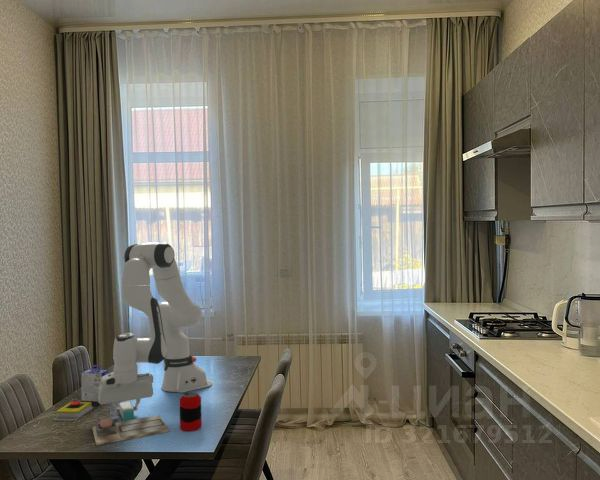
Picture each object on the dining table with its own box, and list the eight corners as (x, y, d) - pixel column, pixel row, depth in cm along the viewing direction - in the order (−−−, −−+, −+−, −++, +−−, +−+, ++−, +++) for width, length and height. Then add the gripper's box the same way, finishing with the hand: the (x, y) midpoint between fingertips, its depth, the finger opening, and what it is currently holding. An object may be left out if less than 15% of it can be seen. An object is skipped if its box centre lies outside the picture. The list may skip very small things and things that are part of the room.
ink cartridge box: (109, 398, 220) (109, 364, 219) (102, 402, 214) (101, 368, 214) (89, 396, 222) (88, 363, 221) (81, 401, 216) (80, 367, 216)
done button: (111, 426, 182) (111, 417, 182) (112, 429, 179) (112, 421, 179) (99, 428, 180) (99, 419, 180) (100, 432, 177) (100, 423, 177)
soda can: (190, 422, 190) (189, 390, 190) (205, 426, 186) (205, 393, 186) (175, 429, 184) (175, 396, 183) (191, 433, 180) (190, 399, 179)
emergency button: (94, 397, 208) (75, 410, 193) (94, 408, 208) (75, 422, 193) (72, 397, 209) (51, 410, 194) (72, 408, 209) (52, 421, 194)
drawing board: (159, 417, 196) (159, 408, 196) (168, 431, 181) (168, 422, 181) (92, 429, 185) (92, 420, 185) (96, 445, 171) (96, 435, 170)
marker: (129, 410, 204) (128, 401, 204) (133, 420, 193) (133, 410, 193) (119, 412, 202) (119, 403, 202) (123, 421, 192) (123, 412, 192)
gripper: (151, 370, 205) (152, 404, 205) (97, 377, 196) (97, 413, 196) (154, 374, 199) (155, 409, 200) (98, 381, 190) (99, 418, 191)
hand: (126, 411), depth 198 cm, fingers open, 5 cm apart
